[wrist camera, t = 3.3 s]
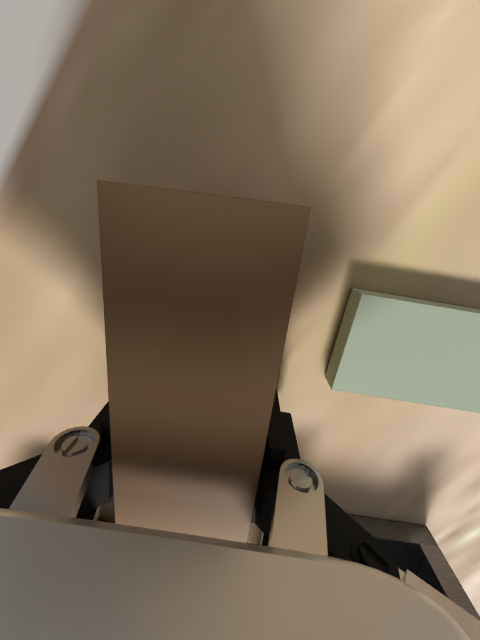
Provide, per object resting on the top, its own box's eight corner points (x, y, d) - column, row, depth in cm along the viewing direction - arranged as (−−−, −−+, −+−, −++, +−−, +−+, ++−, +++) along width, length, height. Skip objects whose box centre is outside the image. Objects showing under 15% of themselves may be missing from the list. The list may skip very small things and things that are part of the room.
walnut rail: (233, 520, 15) (225, 655, 10) (161, 512, 15) (121, 643, 10) (281, 215, 10) (310, 207, 5) (171, 201, 10) (97, 180, 5)
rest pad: (501, 404, 12) (523, 420, 11) (324, 376, 12) (331, 389, 11) (550, 321, 11) (579, 330, 10) (352, 287, 11) (362, 294, 10)
